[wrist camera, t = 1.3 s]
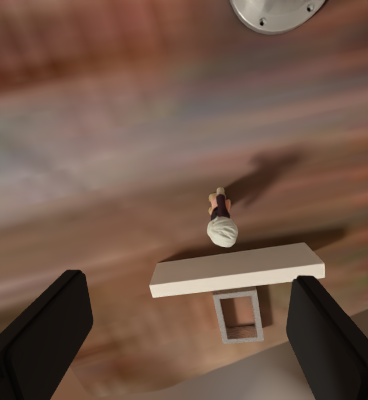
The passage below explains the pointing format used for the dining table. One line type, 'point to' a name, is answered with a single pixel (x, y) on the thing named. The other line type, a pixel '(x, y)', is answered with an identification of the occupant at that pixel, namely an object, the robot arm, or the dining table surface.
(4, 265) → the dining table surface
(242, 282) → the white long flat block
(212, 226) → the grandmother figurine
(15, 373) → the robot arm
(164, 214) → the dining table surface
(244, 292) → the grey hollow rectangular frame
